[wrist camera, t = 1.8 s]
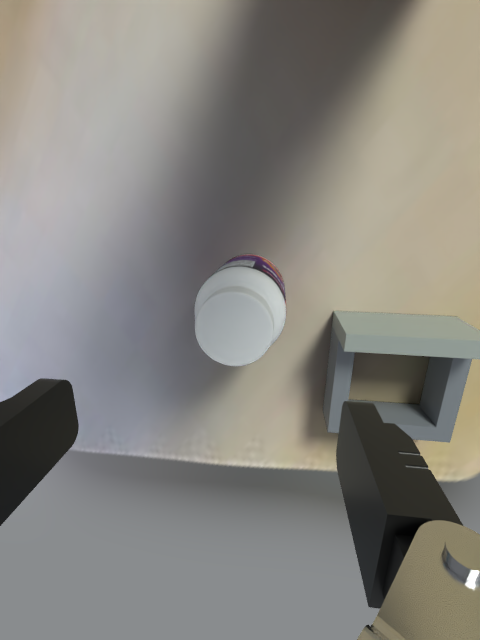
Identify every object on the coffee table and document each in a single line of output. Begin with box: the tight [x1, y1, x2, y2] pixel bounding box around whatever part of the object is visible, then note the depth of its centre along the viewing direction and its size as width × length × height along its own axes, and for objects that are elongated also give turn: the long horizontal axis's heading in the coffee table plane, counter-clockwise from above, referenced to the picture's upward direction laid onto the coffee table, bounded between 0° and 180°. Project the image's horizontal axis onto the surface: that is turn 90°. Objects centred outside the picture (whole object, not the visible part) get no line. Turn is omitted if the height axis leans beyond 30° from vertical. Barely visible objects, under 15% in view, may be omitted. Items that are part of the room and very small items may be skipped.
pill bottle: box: [194, 254, 286, 366], centre depth 21 cm, size 5×5×10 cm
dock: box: [323, 311, 480, 442], centre depth 24 cm, size 9×9×5 cm
